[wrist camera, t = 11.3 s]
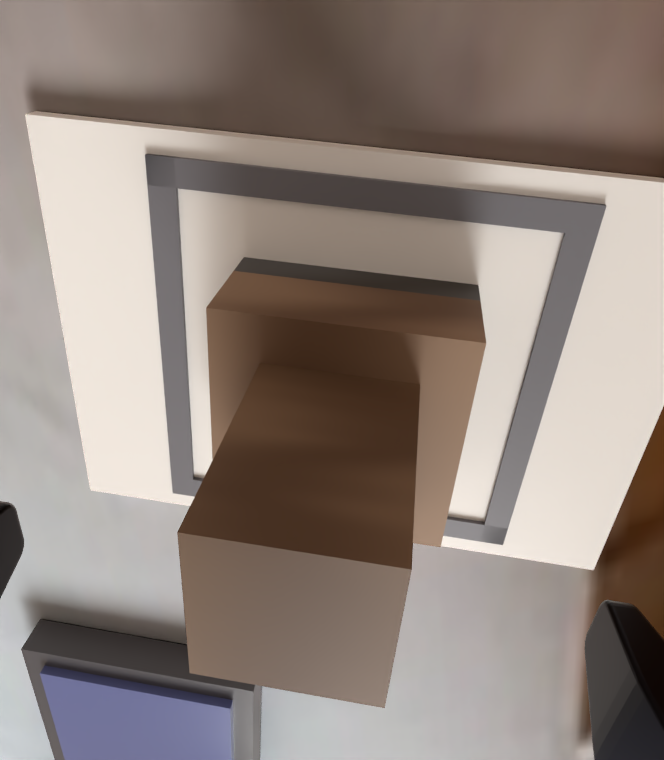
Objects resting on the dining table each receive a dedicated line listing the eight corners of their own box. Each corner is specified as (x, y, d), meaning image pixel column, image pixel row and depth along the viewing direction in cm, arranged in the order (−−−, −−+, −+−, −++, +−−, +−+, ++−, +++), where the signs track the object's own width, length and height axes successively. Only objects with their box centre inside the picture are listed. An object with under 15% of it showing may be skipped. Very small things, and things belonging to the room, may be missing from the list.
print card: (745, 187, 12) (757, 194, 11) (590, 558, 17) (594, 573, 17) (35, 111, 13) (21, 115, 12) (96, 481, 18) (88, 493, 18)
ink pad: (262, 658, 22) (251, 700, 20) (259, 778, 26) (250, 818, 24) (40, 619, 22) (16, 657, 21) (73, 742, 26) (54, 779, 25)
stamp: (478, 284, 13) (510, 522, 7) (440, 470, 16) (440, 755, 10) (243, 257, 14) (92, 460, 8) (245, 441, 16) (133, 699, 10)
